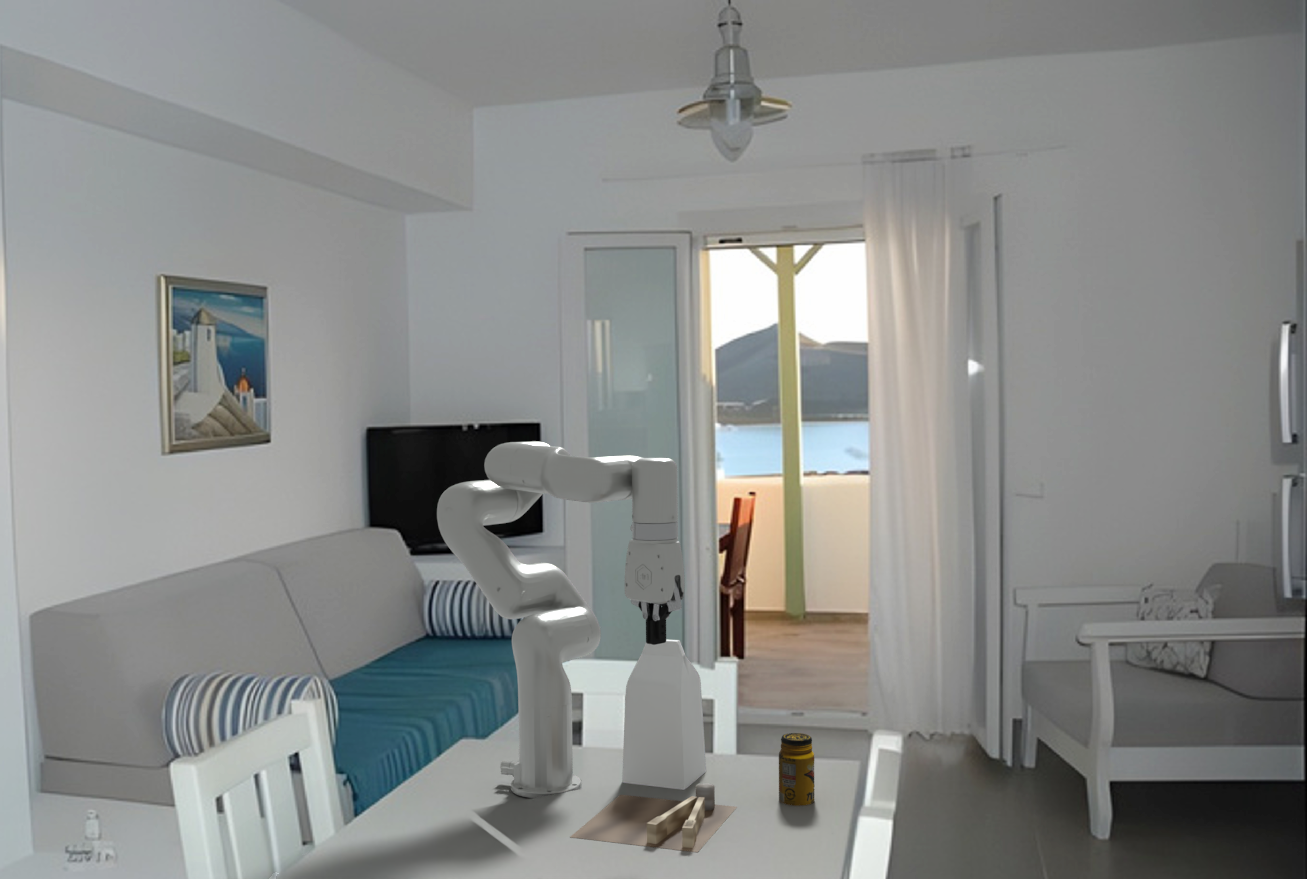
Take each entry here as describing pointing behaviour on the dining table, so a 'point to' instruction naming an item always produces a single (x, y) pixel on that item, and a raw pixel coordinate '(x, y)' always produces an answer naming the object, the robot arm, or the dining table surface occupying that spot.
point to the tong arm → (669, 821)
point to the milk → (663, 720)
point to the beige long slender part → (698, 813)
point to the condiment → (796, 770)
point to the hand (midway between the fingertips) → (656, 642)
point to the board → (630, 823)
